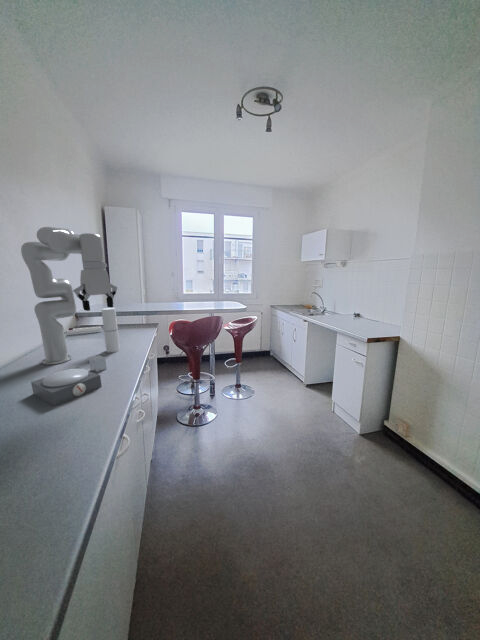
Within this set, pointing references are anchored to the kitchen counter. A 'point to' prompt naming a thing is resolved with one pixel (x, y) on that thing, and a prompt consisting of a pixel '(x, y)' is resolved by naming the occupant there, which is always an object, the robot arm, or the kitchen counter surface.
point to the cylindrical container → (110, 329)
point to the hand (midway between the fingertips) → (99, 308)
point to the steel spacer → (97, 363)
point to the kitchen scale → (65, 385)
